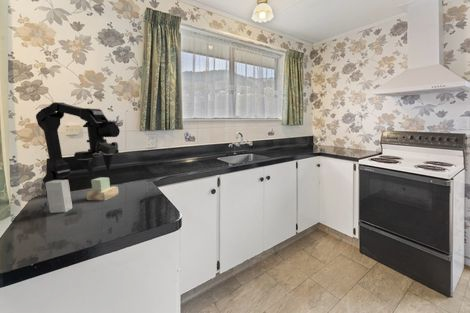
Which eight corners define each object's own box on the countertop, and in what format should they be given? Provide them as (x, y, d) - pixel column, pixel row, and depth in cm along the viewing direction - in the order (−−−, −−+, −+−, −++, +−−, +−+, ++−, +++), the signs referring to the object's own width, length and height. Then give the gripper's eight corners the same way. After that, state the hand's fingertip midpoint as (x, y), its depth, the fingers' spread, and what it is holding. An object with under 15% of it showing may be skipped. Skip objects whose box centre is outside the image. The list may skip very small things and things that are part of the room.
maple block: (87, 200, 101) (86, 191, 101) (102, 194, 110) (101, 186, 110) (104, 201, 100) (103, 192, 99) (118, 194, 109) (117, 186, 108)
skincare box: (73, 208, 91) (68, 179, 89) (65, 212, 87) (61, 182, 85) (57, 208, 91) (53, 179, 89) (49, 213, 87) (44, 182, 85)
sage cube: (92, 190, 102) (91, 179, 102) (101, 187, 107) (100, 177, 106) (101, 191, 101) (100, 180, 100) (110, 188, 106) (109, 177, 105)
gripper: (92, 138, 90) (97, 177, 92) (126, 135, 107) (129, 168, 110) (70, 139, 93) (75, 176, 95) (107, 136, 110) (110, 167, 113)
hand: (100, 171), depth 103 cm, fingers open, 9 cm apart
